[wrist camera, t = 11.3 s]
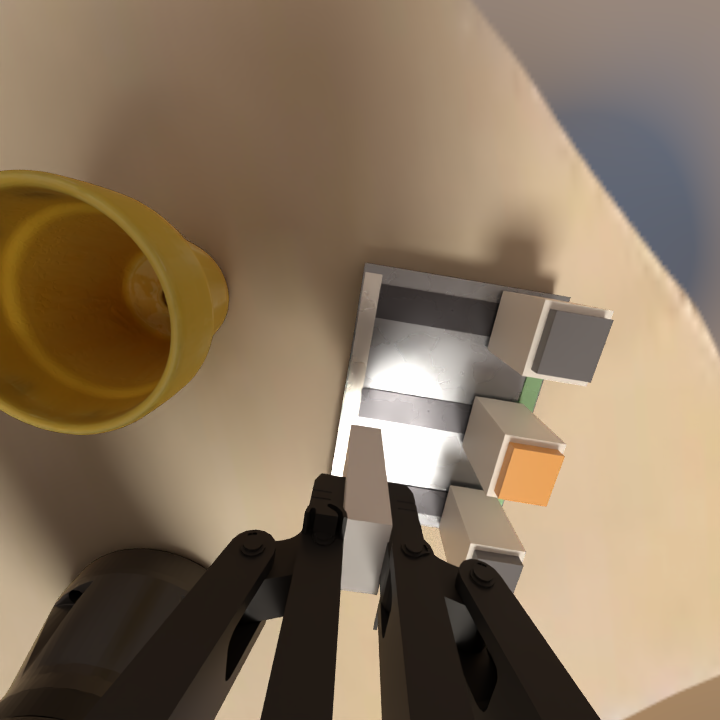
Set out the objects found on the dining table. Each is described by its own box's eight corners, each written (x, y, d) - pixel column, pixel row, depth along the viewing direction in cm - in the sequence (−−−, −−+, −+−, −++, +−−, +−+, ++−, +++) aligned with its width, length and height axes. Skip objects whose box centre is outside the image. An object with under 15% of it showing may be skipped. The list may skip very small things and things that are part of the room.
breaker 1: (487, 349, 21) (527, 379, 15) (503, 290, 20) (552, 300, 14) (536, 357, 21) (594, 391, 15) (555, 299, 20) (623, 312, 14)
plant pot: (273, 361, 24) (208, 426, 14) (130, 377, 24) (-22, 449, 15) (241, 198, 21) (133, 145, 12) (80, 221, 22) (-144, 189, 12)
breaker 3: (438, 527, 24) (457, 603, 19) (450, 485, 23) (473, 552, 18) (480, 534, 24) (512, 612, 19) (494, 492, 23) (531, 561, 18)
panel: (328, 491, 26) (325, 510, 24) (365, 262, 22) (365, 262, 20) (483, 516, 26) (492, 537, 24) (552, 294, 22) (571, 297, 20)
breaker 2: (461, 445, 22) (490, 503, 17) (475, 395, 21) (510, 440, 16) (507, 453, 22) (550, 513, 17) (522, 403, 21) (573, 451, 16)
